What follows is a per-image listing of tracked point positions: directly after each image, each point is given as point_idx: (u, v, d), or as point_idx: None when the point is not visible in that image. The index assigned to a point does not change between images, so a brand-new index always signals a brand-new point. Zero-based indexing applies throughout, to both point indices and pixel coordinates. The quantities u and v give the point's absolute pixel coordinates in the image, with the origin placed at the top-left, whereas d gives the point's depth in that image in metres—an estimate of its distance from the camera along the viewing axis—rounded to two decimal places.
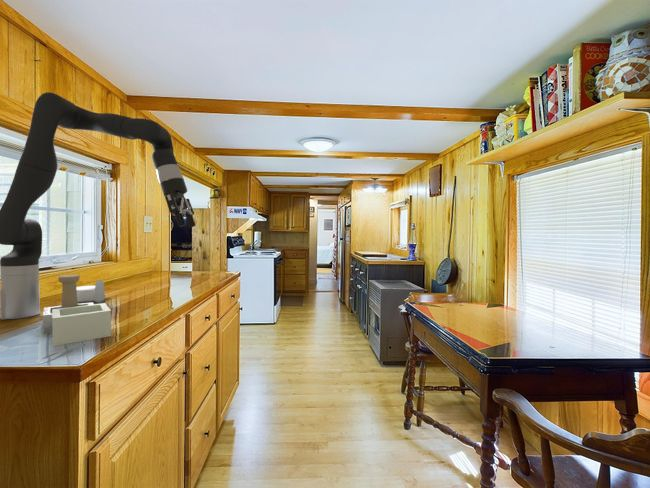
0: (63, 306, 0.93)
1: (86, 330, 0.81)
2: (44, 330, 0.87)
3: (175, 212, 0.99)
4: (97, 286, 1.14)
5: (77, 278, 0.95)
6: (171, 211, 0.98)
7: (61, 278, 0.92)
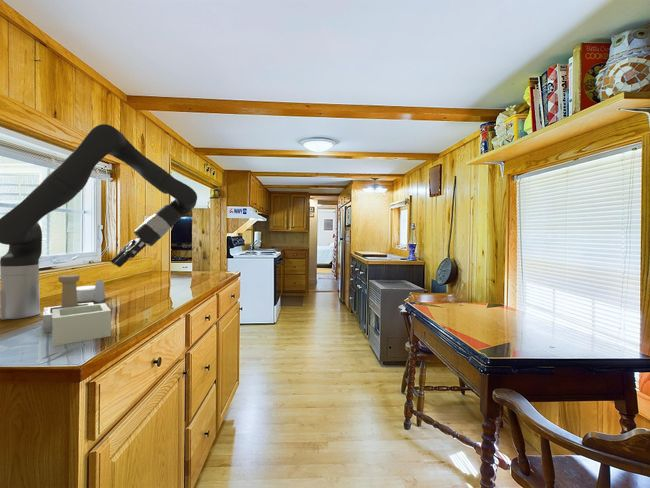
0: (63, 306, 0.93)
1: (86, 330, 0.81)
2: (44, 330, 0.87)
3: (129, 255, 1.00)
4: (97, 286, 1.14)
5: (77, 278, 0.95)
6: (128, 253, 0.99)
7: (61, 278, 0.92)
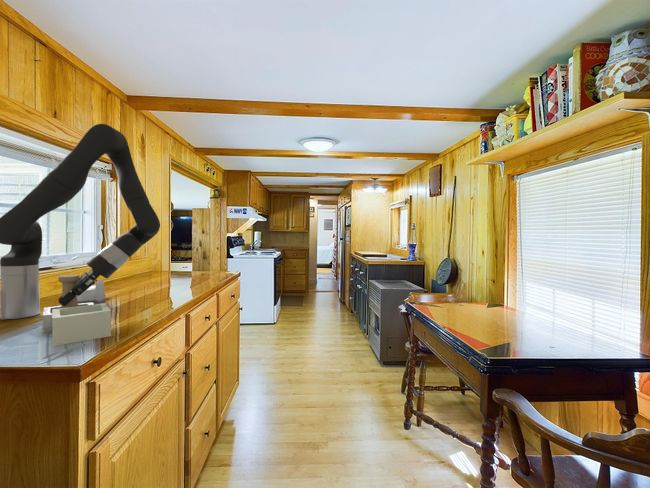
0: (63, 306, 0.93)
1: (86, 330, 0.81)
2: (44, 330, 0.87)
3: (74, 293, 0.93)
4: (97, 286, 1.15)
5: (77, 278, 0.95)
6: (73, 291, 0.92)
7: (61, 278, 0.92)
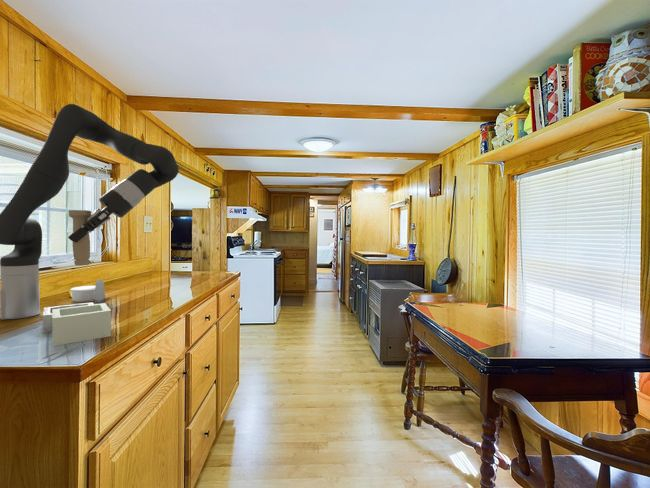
0: (74, 243, 0.84)
1: (86, 330, 0.81)
2: (44, 330, 0.87)
3: (87, 229, 0.83)
4: (97, 285, 1.16)
5: (89, 213, 0.85)
6: (85, 225, 0.82)
7: (72, 211, 0.82)
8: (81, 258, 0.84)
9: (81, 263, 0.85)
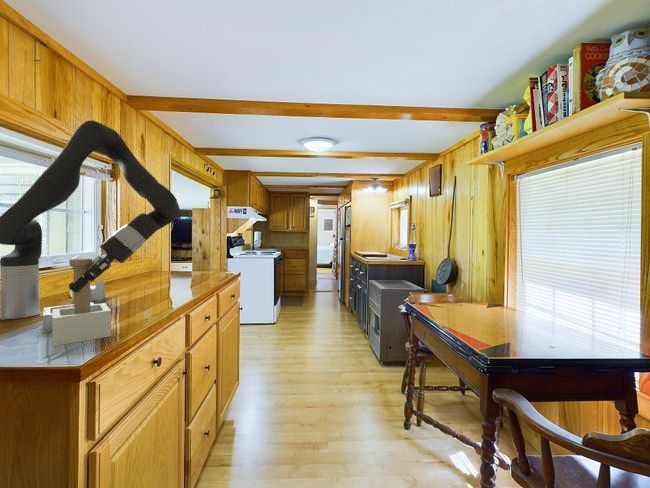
0: (75, 293, 0.83)
1: (86, 330, 0.81)
2: (44, 330, 0.87)
3: (87, 279, 0.83)
4: (97, 285, 1.16)
5: (90, 262, 0.85)
6: (86, 276, 0.82)
7: (72, 261, 0.82)
8: (81, 308, 0.84)
9: (81, 312, 0.84)
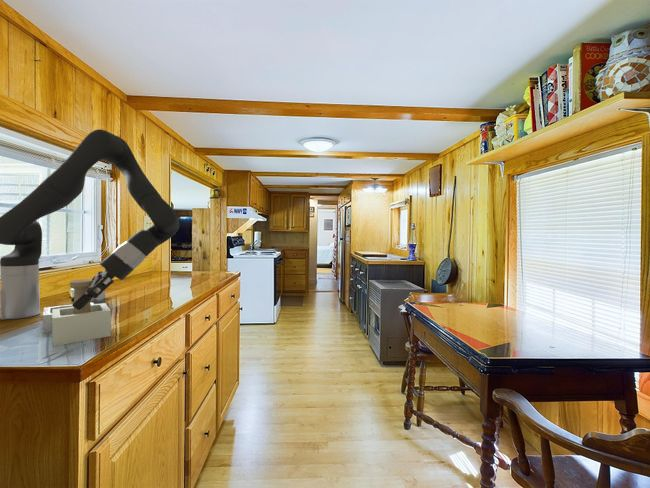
0: None
1: (86, 330, 0.81)
2: (44, 330, 0.87)
3: (91, 296, 0.81)
4: None
5: None
6: (90, 292, 0.81)
7: (73, 283, 0.82)
8: None
9: None
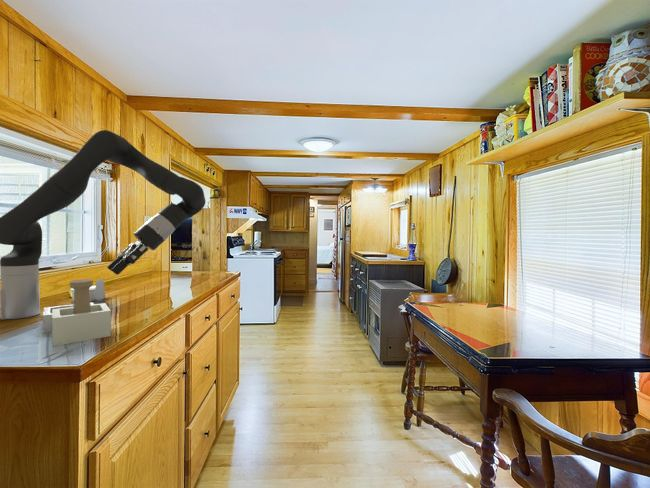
0: None
1: (86, 330, 0.81)
2: (44, 330, 0.87)
3: (128, 261, 0.87)
4: (98, 285, 1.17)
5: (90, 283, 0.85)
6: (127, 258, 0.86)
7: (73, 283, 0.82)
8: None
9: None
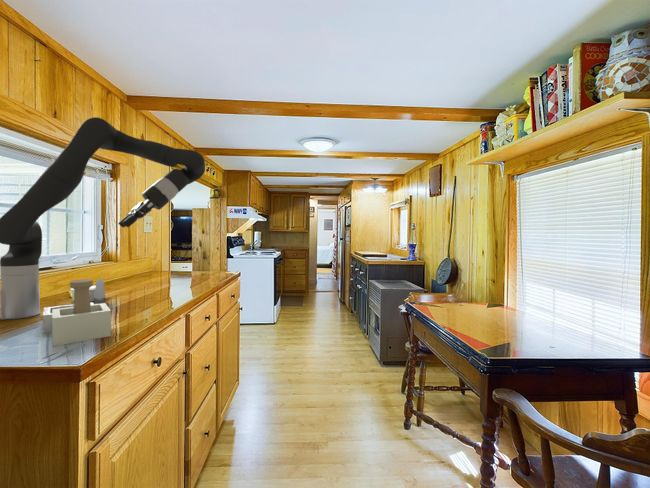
0: None
1: (86, 330, 0.81)
2: (44, 330, 0.87)
3: (137, 215, 0.98)
4: (98, 284, 1.18)
5: (90, 283, 0.85)
6: (137, 212, 0.98)
7: (73, 283, 0.82)
8: None
9: None
